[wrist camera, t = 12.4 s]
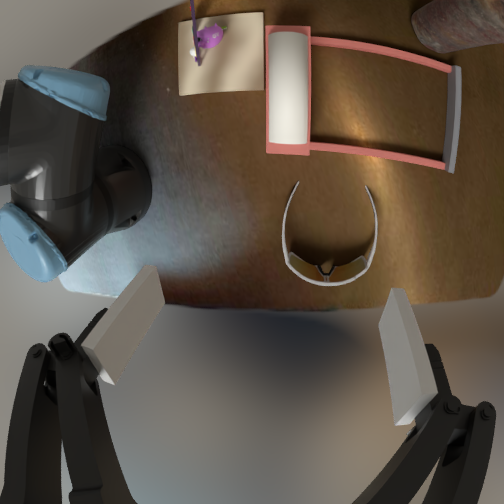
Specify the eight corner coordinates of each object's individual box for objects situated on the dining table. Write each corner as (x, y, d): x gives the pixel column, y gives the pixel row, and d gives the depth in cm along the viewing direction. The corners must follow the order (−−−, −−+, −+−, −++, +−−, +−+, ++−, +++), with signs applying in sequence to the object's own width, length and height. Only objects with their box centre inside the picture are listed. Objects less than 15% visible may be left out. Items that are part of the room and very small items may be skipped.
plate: (181, 95, 34) (179, 95, 33) (180, 23, 28) (178, 22, 27) (264, 90, 32) (263, 89, 31) (263, 13, 26) (262, 12, 25)
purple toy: (183, -3, 20) (190, 57, 25) (227, -8, 21) (235, 51, 25) (186, 15, 26) (192, 67, 30) (223, 10, 26) (230, 62, 31)
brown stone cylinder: (457, 58, 22) (546, 48, 5) (416, 54, 24) (499, 28, 7) (443, 14, 19) (519, -20, 2) (402, 8, 21) (466, -44, 4)
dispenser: (272, 146, 36) (263, 156, 29) (271, 37, 28) (262, 20, 21) (446, 169, 32) (473, 185, 25) (452, 68, 23) (482, 65, 16)
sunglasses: (282, 269, 46) (279, 284, 41) (284, 178, 40) (281, 182, 36) (365, 274, 43) (371, 288, 39) (376, 184, 38) (385, 189, 33)
